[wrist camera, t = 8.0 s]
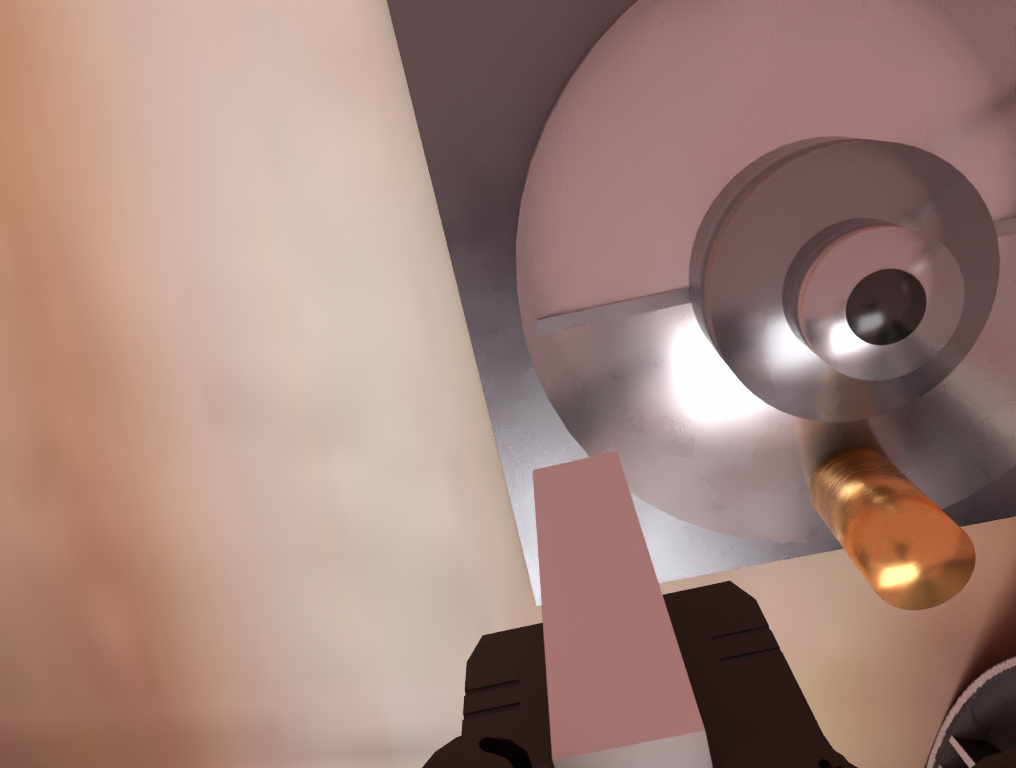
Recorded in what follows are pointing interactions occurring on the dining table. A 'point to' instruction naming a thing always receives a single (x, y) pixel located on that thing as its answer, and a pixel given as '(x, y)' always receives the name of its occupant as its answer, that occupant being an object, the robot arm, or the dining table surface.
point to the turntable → (667, 250)
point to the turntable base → (492, 244)
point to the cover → (844, 275)
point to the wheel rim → (979, 720)
